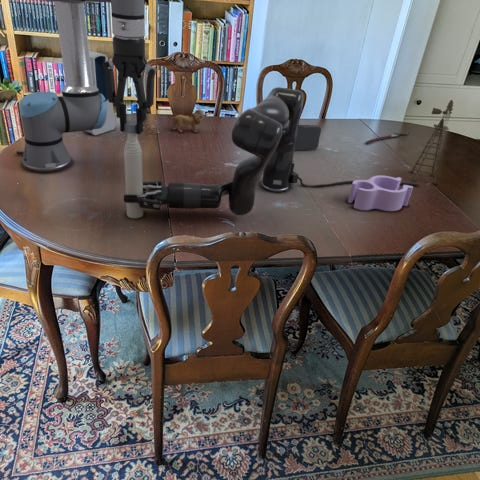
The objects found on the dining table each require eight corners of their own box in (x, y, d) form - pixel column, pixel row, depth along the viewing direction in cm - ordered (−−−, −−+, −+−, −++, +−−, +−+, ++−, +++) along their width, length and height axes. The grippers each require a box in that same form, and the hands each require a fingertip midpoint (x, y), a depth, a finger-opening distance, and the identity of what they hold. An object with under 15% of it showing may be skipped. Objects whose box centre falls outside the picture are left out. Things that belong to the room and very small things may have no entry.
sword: (404, 132, 223) (404, 129, 222) (409, 134, 221) (409, 132, 220) (360, 143, 207) (361, 141, 206) (365, 146, 205) (366, 143, 204)
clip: (360, 214, 150) (365, 195, 146) (341, 196, 159) (346, 177, 156) (412, 209, 156) (418, 190, 152) (390, 192, 166) (396, 174, 162)
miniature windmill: (435, 184, 175) (463, 105, 159) (412, 180, 176) (438, 101, 160) (432, 174, 182) (458, 98, 166) (410, 171, 183) (434, 94, 167)
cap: (124, 127, 125) (124, 119, 124) (139, 128, 126) (139, 120, 124) (123, 133, 122) (123, 125, 120) (139, 133, 122) (139, 125, 121)
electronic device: (93, 136, 184) (86, 56, 167) (80, 131, 187) (72, 52, 170) (116, 128, 193) (112, 52, 177) (103, 124, 196) (97, 48, 180)
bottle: (146, 212, 139) (144, 130, 125) (138, 219, 135) (136, 135, 121) (131, 208, 140) (128, 126, 126) (123, 216, 136) (119, 132, 122)
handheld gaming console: (315, 147, 196) (319, 124, 190) (317, 149, 194) (322, 126, 188) (264, 149, 189) (267, 125, 183) (266, 152, 187) (269, 127, 181)
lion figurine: (201, 127, 203) (202, 107, 198) (204, 132, 199) (205, 111, 194) (168, 129, 198) (168, 108, 193) (170, 133, 194) (171, 112, 189)
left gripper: (88, 34, 108) (95, 131, 121) (158, 44, 107) (158, 140, 120) (101, 29, 115) (106, 122, 127) (167, 38, 113) (166, 131, 126)
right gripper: (184, 173, 140) (126, 171, 137) (185, 195, 128) (121, 194, 125) (184, 195, 144) (127, 194, 141) (184, 219, 132) (122, 218, 129)
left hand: (131, 130), depth 124 cm, fingers closed on cap, 4 cm apart
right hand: (125, 194), depth 133 cm, fingers closed on bottle, 5 cm apart
